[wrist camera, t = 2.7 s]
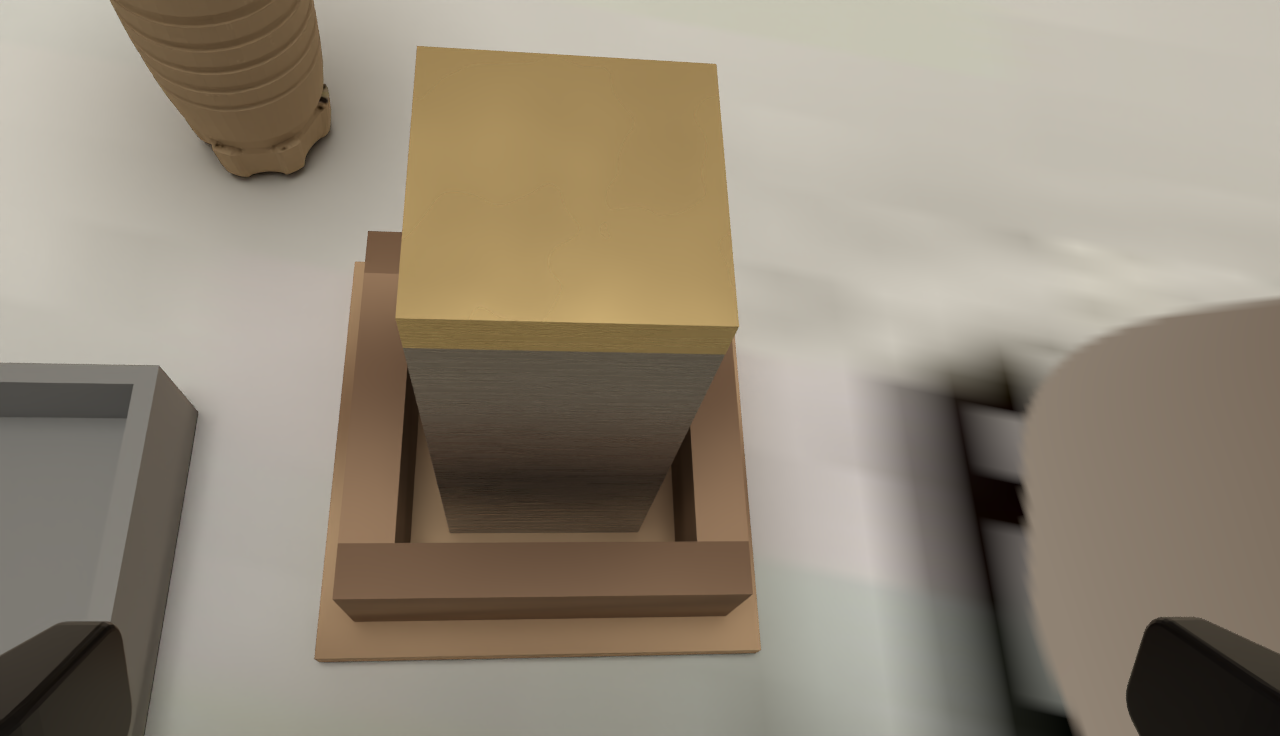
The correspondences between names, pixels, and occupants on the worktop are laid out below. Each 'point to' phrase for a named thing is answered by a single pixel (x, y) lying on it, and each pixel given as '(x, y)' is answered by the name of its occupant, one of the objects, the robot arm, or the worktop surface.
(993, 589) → the worktop surface
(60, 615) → the tray
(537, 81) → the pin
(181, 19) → the handle
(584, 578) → the holder
